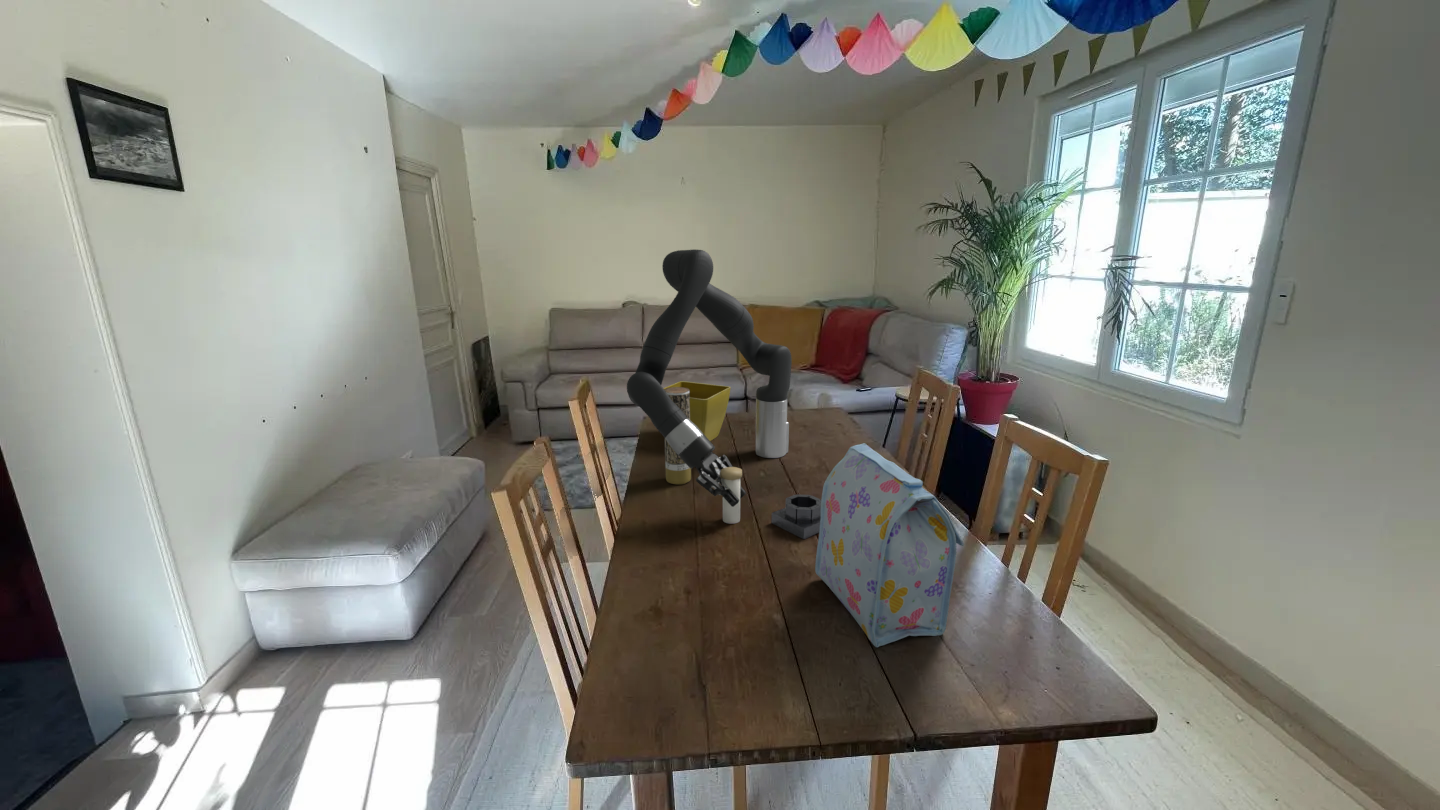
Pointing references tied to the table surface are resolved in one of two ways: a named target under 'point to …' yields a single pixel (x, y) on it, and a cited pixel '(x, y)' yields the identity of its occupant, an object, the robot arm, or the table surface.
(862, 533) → the lunch bag
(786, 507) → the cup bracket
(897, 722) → the table surface
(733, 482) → the white beige cylinder
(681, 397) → the paper tube
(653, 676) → the table surface
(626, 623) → the table surface
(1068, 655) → the table surface
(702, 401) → the flower pot
